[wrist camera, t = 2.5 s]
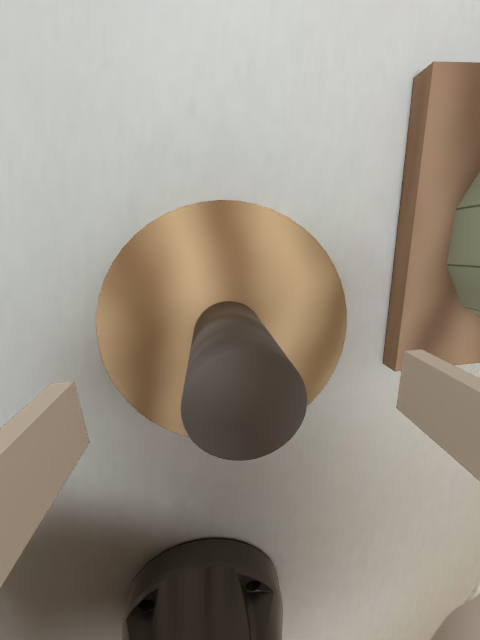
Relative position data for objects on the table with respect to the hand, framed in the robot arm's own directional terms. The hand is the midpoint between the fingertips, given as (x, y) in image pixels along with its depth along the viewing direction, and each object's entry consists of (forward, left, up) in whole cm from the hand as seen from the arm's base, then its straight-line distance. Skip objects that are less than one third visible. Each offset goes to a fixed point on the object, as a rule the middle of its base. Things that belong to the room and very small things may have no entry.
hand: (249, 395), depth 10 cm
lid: (0, 0, -10) cm, 10 cm away
